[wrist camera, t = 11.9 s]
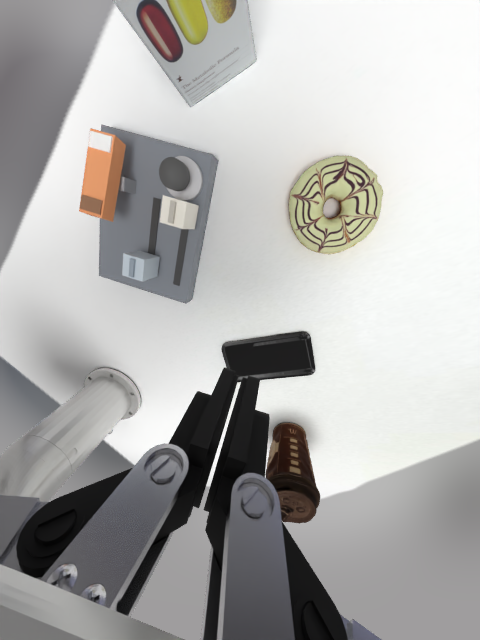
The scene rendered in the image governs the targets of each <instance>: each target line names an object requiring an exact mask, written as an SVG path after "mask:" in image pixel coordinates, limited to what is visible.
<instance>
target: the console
mask: <svg viewBox="0 0 480 640" xmlns="http://www.w3.org/2000/svg"><path fill="white" fill-rule="evenodd" d="M101 131H102V132H106V133H109V134H113V135H115V136H117V137H118V138H119V139H120V140H121V141H122V142H123V143H124V144H125V145H126V148H125V154H124V160H123V166H122V172H121V178H120V184H119V190H118V196H117V202H116V207H115V213H114V219H113V222H111V221H108V220H105V219H101V218H100V251H99V276H101V277H105V278H108V279H111V280H114V281H117V282H120V283H123V284H126V285H130V286H133V287H136V288H139V289H142V290H145V291H148V292H151V293H155V294H158V295H161V296H164V297H167V298H170V299H173V300H176V301H180V302H183V303H188V302H189V301H190V300H192V297H193V292H194V286H195V281H196V276H197V270H198V265H199V260H200V254H201V249H202V244H203V239H204V233H205V228H206V223H207V217H208V212H209V207H210V201H211V196H212V191H213V185H214V180H215V175H216V169H217V164H218V160H217V159H216V158H215V156H214V155H212V154H209V153H205V152H201V151H198V150H194V149H190V148H186V147H183V146H179V145H175V144H172V143H168V142H164V141H161V140H157V139H153V138H149V137H146V136H142V135H138V134H135V133H131V132H127V131H124V130H120V129H116V128H113V127H109V126H105V125H101ZM167 157H175V158H177V159H179V160H180V161H182V162H183V163H184V164H185V165H186V166H187V167H188V169H189V172H190V182H189V185H188V187H187V188H186V189H185V190H183V191H174V190H171V189H169V188H167V187H165V186H164V185H163V183H162V182H161V180H160V177H159V167H160V164H161V162H162V161H163V160H164V159H165V158H167ZM163 195H164V196H168V197H171V198H175V199H178V200H182V201H185V202H188V203H192V204H195V205H199V208H198V213H197V219H196V225H195V229H181V228H177V227H174V226H171V225H167V224H164V223H161V222H160V215H161V206H162V197H163ZM137 251H143V252H146V253H149V254H153V255H156V256H159V257H160V259H159V268H158V276H157V277H154V278H152V279H149V280H146V281H143V282H142V281H139V280H135V279H132V278H129V277H126V276H123V275H122V269H123V253H129V252H137Z"/></svg>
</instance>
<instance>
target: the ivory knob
mask: <svg viewBox="0 0 480 640" xmlns="http://www.w3.org/2000/svg"><path fill="white" fill-rule="evenodd" d="M198 208H199V205H195V204H192V203H188V202H185V201H182V200H178V199H175V198H171V197H168V196H164V195H163V197H162V206H161V215H160V222H161V223H164V224H167V225H171V226H174V227H177V228H181V229H195V225H196V219H197V213H198Z"/></svg>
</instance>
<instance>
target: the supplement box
mask: <svg viewBox="0 0 480 640" xmlns="http://www.w3.org/2000/svg"><path fill="white" fill-rule="evenodd" d="M112 1H113V2H114V3H115V5H116V6H117V7H118V9H119V10H120V12H121V13H122V14H123V16H124V17H125V18H126V20H127V21H128V23H129V24H130V25H131V27H132V28H133V29H134V31H135V32H136V33H137V35H138V36H139V38H140V39H141V40H142V42H143V43H144V44H145V46H146V47H147V49H148V50H149V51H150V53H151V54H152V55H153V57H154V58H155V59H156V61H157V62H158V64H159V65H160V66H161V68H162V69H163V71H164V72H165V73H166V75H167V76H168V77H169V79H170V80H171V81H172V83H173V84H174V86H175V87H176V88H177V90H178V91H179V92H180V94H181V95H182V97H183V98H184V99H185V101H186V102H187V103H188V105H189V106H190V107H191V106H193V105H194V104H196V103H197V102H199V101H200V100H201V99H203V98H204V97H206V96H207V95H209V94H210V93H212V92H213V91H214V90H216V89H217V88H219V87H220V86H222V85H223V84H224V83H226V82H227V81H229V80H230V79H232V78H233V77H235V76H236V75H237V74H239V73H240V72H242V71H243V70H245V69H246V68H247V67H249V66H250V65H252V64H253V63H254V62H255V61H256V54H255V48H254V41H253V35H252V28H251V21H250V15H249V8H248V1H247V0H112Z"/></svg>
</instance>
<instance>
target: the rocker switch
mask: <svg viewBox="0 0 480 640" xmlns="http://www.w3.org/2000/svg"><path fill="white" fill-rule="evenodd" d="M125 148H126V145H125V144H124V143H123V142H122V141H121V140H120V139H119V138H118V137H117V136H115V135H113V134H109V133H106V132H102V131H98V130H95V129H90V136H89V144H88V151H87V158H86V166H85V173H84V180H83V187H82V195H81V202H80V209H79V211H80V212H83V213H86V214H88V215H91V216H95V217H98V218H101V219H105V220H108V221H111V222H113V219H114V213H115V207H116V202H117V196H118V190H119V184H120V178H121V172H122V166H123V160H124V154H125Z"/></svg>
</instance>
